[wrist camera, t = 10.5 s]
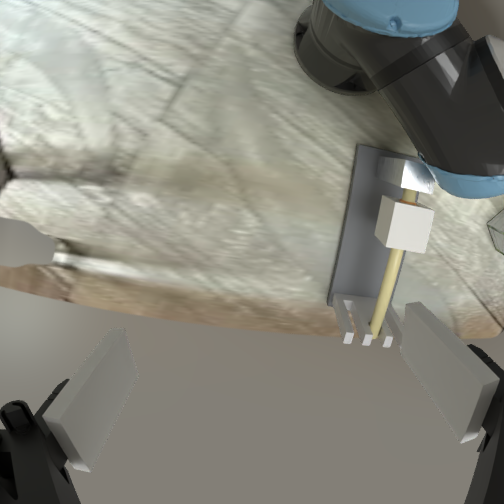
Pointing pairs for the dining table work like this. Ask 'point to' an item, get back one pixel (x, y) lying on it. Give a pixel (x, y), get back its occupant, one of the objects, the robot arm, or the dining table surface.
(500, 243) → the syrup box
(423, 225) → the sleeve
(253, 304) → the dining table surface
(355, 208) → the cable comb board
